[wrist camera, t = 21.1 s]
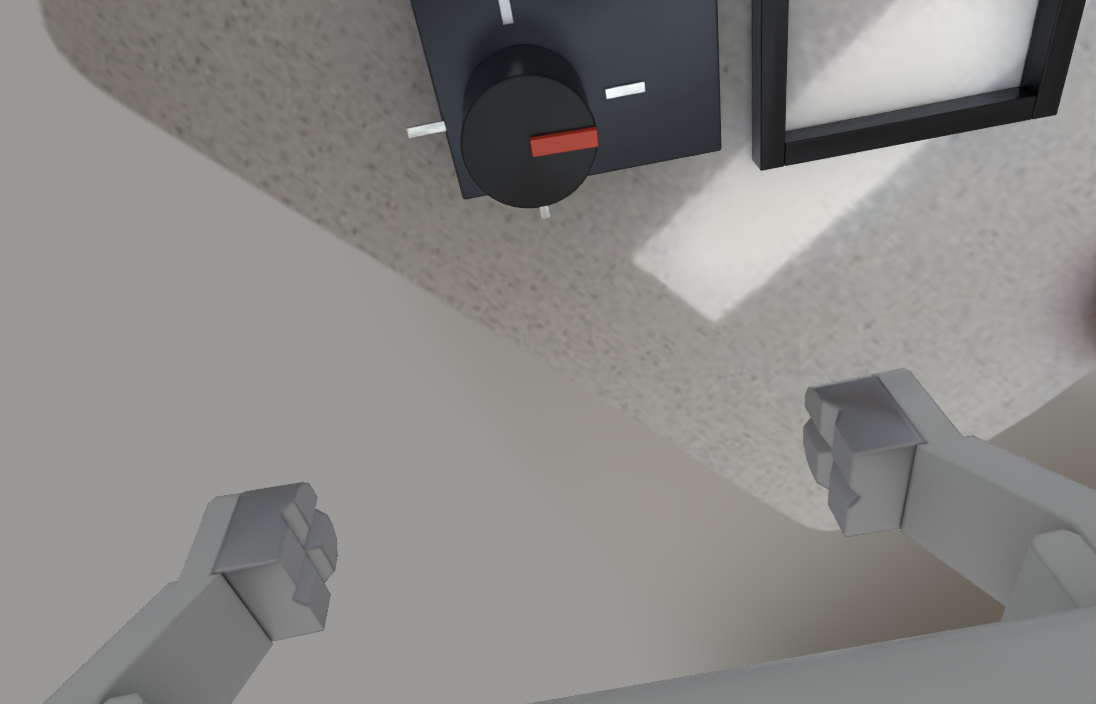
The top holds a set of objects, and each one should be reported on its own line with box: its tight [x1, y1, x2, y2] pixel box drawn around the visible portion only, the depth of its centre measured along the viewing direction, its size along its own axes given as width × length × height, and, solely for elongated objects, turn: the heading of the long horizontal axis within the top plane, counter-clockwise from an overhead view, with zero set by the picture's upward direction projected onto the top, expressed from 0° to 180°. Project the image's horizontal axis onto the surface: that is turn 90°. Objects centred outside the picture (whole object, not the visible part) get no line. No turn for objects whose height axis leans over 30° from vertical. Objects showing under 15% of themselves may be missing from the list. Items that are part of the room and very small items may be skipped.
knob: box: [460, 45, 598, 208], centre depth 24 cm, size 4×4×4 cm
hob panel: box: [406, 0, 722, 219], centre depth 26 cm, size 11×11×3 cm
